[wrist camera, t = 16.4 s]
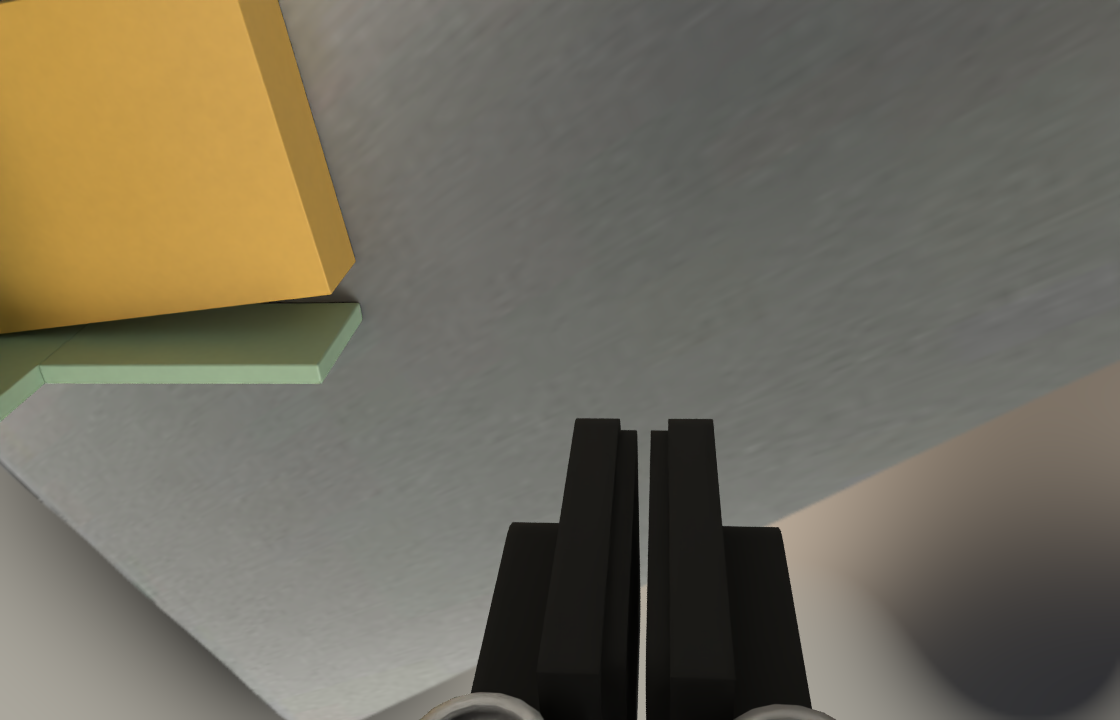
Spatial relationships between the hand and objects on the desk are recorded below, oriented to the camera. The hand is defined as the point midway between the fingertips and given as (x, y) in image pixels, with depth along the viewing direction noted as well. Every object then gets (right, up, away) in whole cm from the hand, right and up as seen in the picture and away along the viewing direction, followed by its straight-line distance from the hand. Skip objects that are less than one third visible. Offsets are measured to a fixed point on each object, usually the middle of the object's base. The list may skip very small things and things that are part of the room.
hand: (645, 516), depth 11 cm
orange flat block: (-17, +10, +22) cm, 29 cm away
